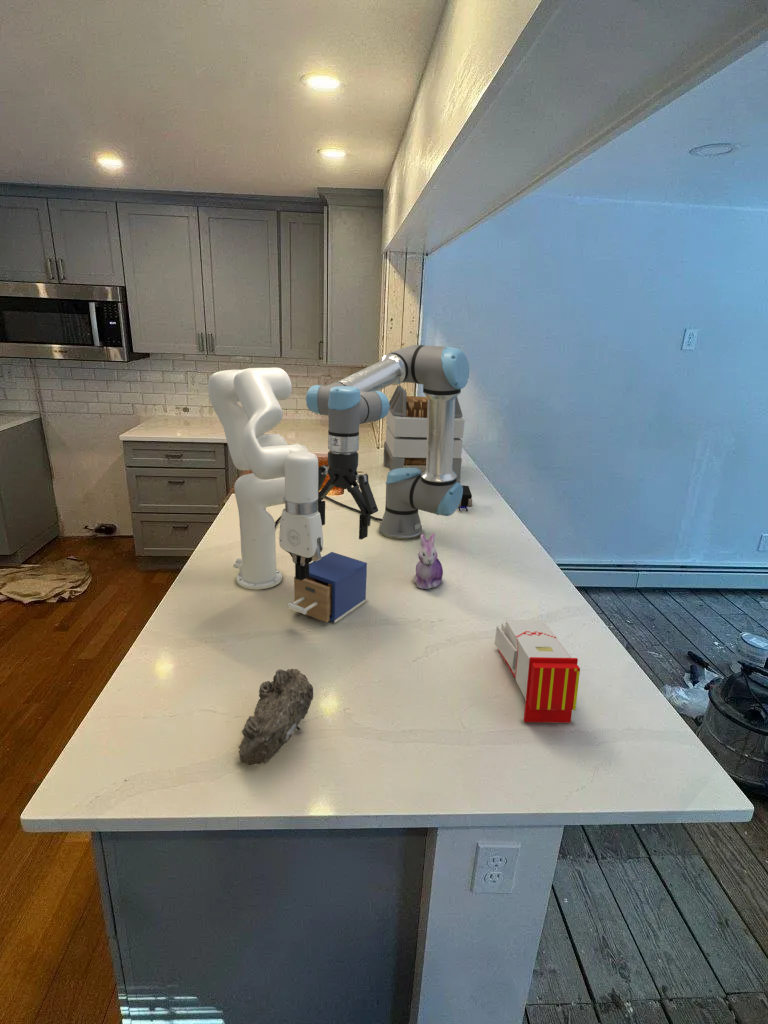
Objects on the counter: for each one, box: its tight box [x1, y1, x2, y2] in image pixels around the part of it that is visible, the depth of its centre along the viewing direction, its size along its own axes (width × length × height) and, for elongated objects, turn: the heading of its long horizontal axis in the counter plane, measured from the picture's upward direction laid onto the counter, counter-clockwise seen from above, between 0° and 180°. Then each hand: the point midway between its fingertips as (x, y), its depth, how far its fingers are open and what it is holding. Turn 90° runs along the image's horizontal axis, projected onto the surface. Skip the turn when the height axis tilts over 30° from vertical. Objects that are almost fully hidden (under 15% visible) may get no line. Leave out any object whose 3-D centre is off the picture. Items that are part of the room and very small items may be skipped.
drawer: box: [287, 576, 332, 623], centre depth 144 cm, size 18×10×9 cm, turn 148°
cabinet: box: [309, 551, 368, 624], centre depth 149 cm, size 14×12×12 cm
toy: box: [494, 619, 581, 724], centre depth 121 cm, size 12×13×30 cm
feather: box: [274, 515, 281, 529], centre depth 210 cm, size 2×28×2 cm
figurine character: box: [457, 484, 473, 512], centre depth 229 cm, size 7×8×15 cm
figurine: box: [413, 532, 444, 590], centre depth 162 cm, size 9×10×15 cm
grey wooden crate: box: [383, 384, 465, 483], centre depth 268 cm, size 34×33×41 cm
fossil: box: [238, 668, 314, 766], centre depth 104 cm, size 22×10×15 cm
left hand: (302, 577), depth 136 cm, fingers closed
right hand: (341, 531), depth 146 cm, fingers open, 13 cm apart
